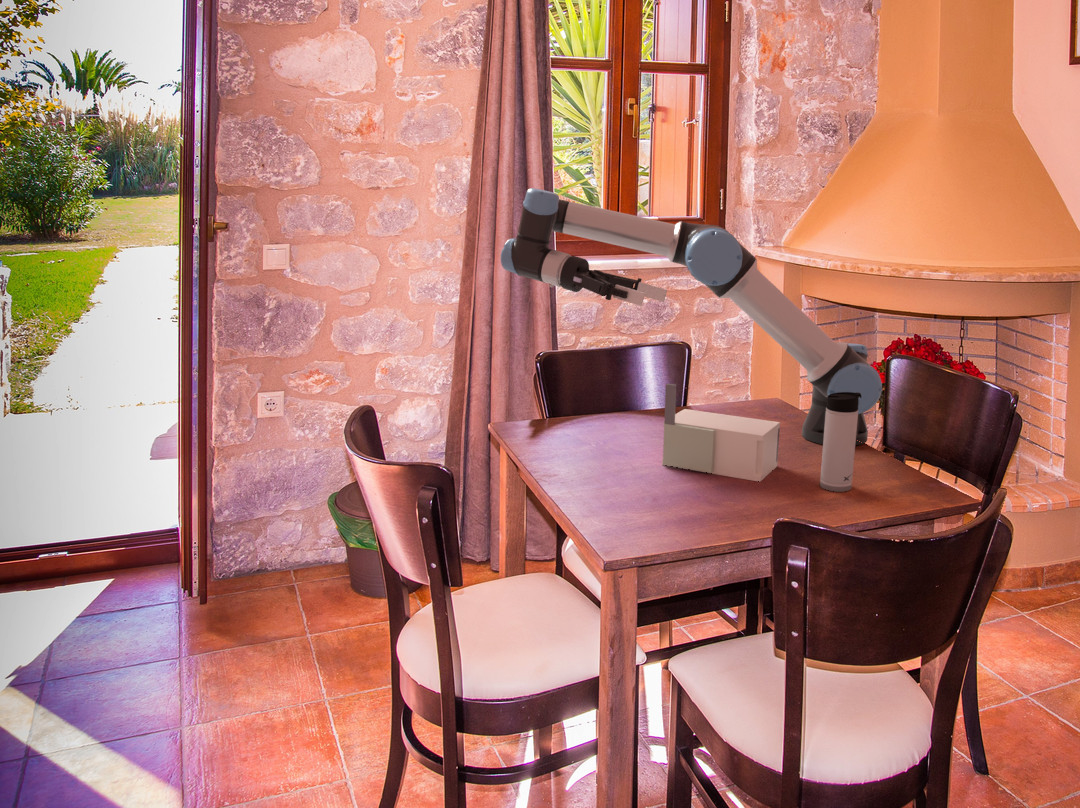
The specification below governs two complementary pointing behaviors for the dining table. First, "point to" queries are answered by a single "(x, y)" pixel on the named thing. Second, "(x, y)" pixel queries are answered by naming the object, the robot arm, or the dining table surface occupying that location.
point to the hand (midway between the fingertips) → (654, 297)
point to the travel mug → (839, 441)
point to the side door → (685, 440)
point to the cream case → (738, 443)
